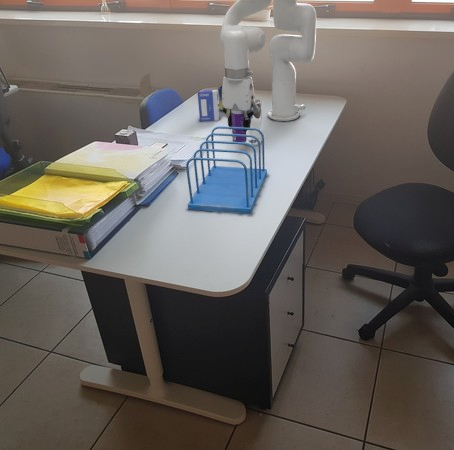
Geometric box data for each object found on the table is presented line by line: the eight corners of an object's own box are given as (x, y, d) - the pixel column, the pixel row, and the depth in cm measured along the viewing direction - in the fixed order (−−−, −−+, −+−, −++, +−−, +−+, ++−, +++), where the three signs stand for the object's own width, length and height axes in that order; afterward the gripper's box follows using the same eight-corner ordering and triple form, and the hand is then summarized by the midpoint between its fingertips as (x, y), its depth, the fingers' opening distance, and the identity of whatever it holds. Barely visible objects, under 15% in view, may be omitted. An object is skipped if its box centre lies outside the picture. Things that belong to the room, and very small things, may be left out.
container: (244, 144, 154) (243, 99, 146) (231, 143, 155) (228, 98, 147) (247, 139, 158) (246, 95, 150) (234, 138, 159) (232, 94, 151)
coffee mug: (229, 113, 195) (228, 91, 190) (215, 109, 200) (213, 87, 195) (249, 107, 203) (248, 85, 198) (234, 103, 208) (233, 81, 203)
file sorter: (213, 171, 146) (209, 124, 138) (267, 175, 144) (267, 127, 136) (187, 210, 125) (182, 157, 117) (250, 215, 123) (249, 161, 115)
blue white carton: (199, 121, 187) (197, 91, 181) (199, 119, 189) (197, 89, 183) (219, 120, 188) (217, 90, 182) (219, 118, 190) (217, 88, 184)
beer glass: (265, 140, 169) (264, 99, 161) (258, 147, 163) (257, 105, 155) (247, 138, 171) (245, 97, 163) (240, 144, 165) (238, 103, 157)
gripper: (266, 72, 145) (267, 128, 154) (218, 68, 150) (221, 122, 160) (257, 78, 139) (258, 136, 149) (207, 73, 145) (211, 129, 154)
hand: (239, 128), depth 154 cm, fingers closed on container, 4 cm apart
